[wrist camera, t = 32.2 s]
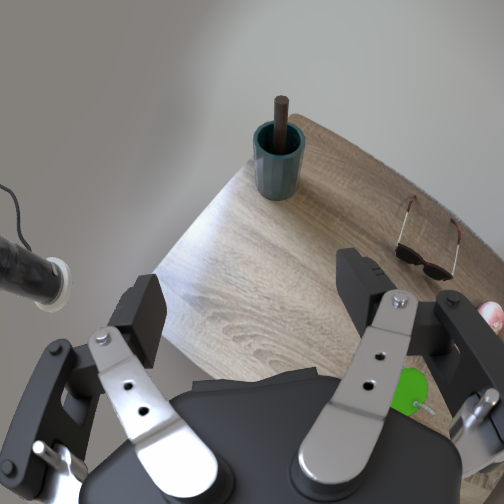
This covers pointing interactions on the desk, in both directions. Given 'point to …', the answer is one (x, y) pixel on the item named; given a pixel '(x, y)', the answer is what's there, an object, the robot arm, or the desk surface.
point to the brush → (280, 124)
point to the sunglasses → (414, 258)
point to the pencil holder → (277, 162)
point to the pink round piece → (492, 315)
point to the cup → (411, 392)
